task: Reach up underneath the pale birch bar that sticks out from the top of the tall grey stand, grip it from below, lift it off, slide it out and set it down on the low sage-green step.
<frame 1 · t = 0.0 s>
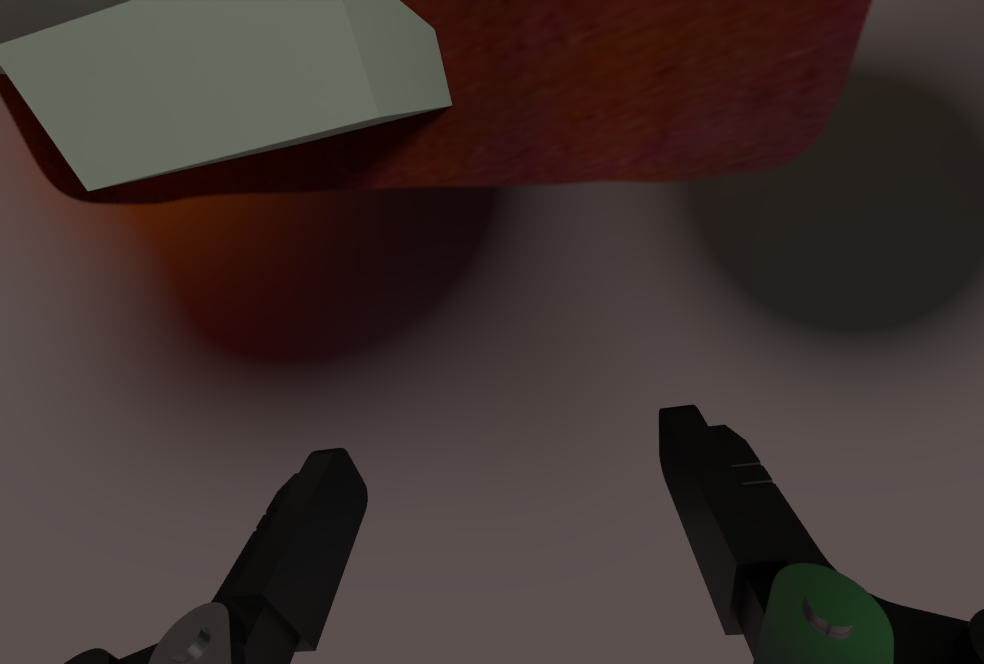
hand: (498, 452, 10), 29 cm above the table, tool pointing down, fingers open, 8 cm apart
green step: (365, 89, 32), on the table
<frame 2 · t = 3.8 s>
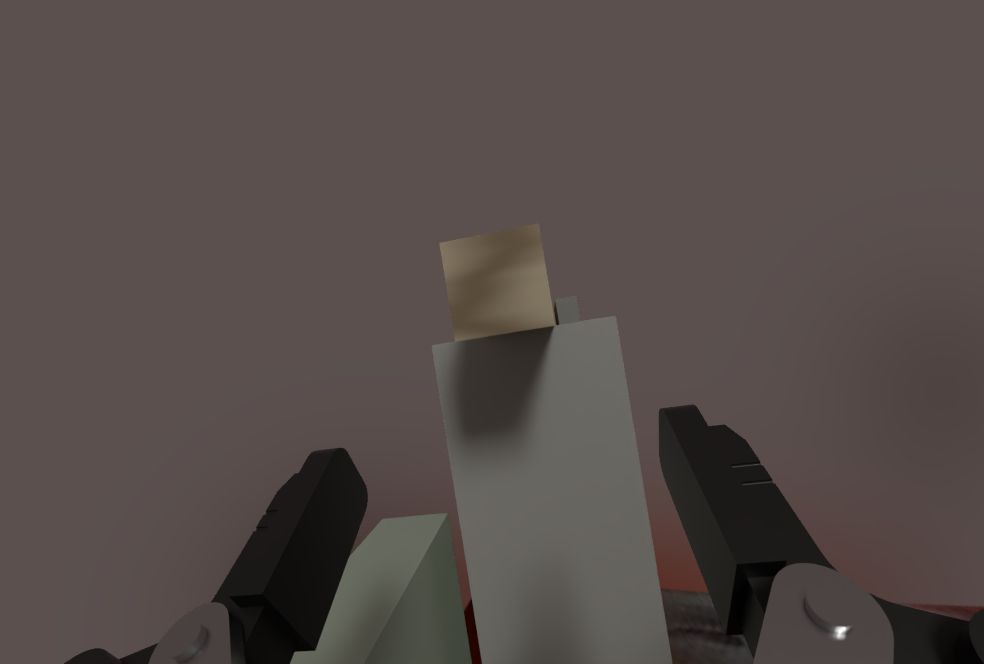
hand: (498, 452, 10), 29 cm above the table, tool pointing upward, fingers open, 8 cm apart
birch bar: (524, 330, 27), point 32 cm above the table, touching grey stand
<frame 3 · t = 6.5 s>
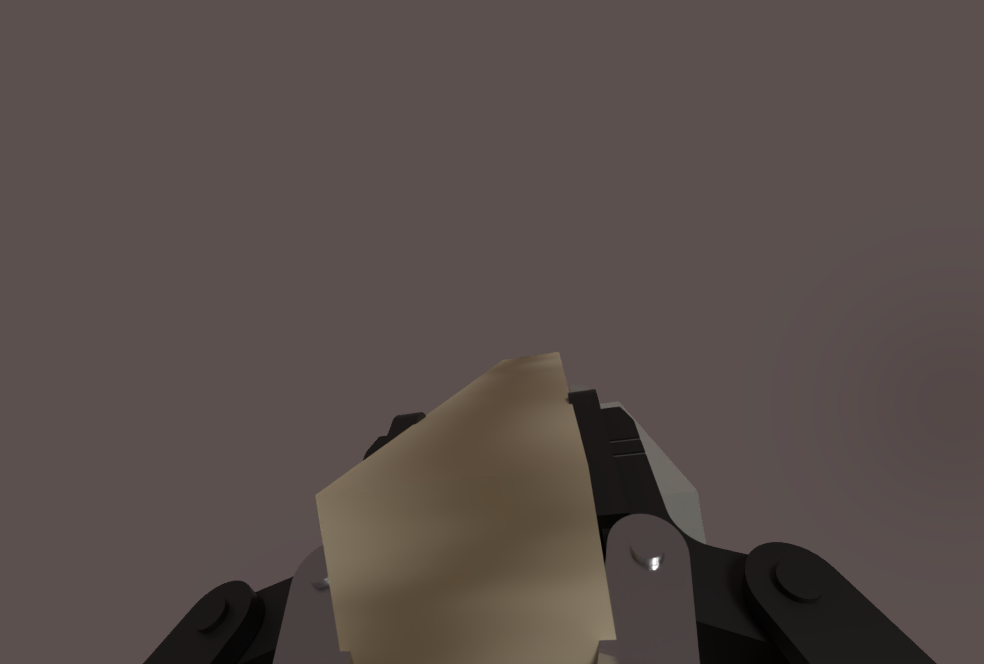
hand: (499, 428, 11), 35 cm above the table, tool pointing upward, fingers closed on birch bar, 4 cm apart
birch bar: (531, 469, 17), point 32 cm above the table, touching grey stand, gripper
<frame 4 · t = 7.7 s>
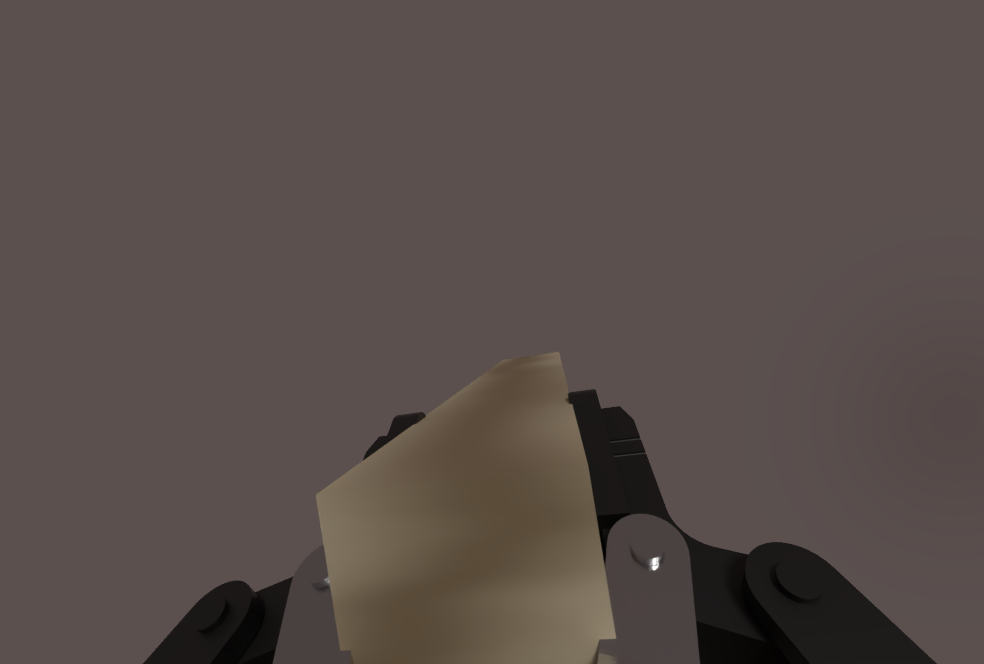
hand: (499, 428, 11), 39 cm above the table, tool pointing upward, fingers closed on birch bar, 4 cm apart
birch bar: (531, 469, 17), point 36 cm above the table, touching gripper
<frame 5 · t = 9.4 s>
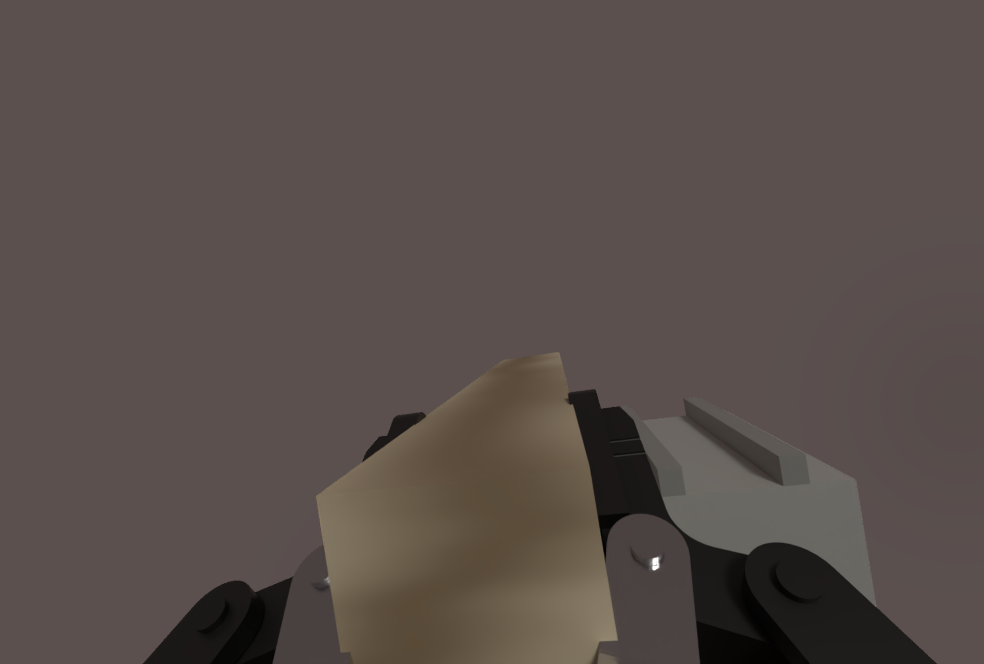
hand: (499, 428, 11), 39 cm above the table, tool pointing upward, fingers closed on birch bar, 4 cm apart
birch bar: (531, 470, 17), point 36 cm above the table, touching gripper
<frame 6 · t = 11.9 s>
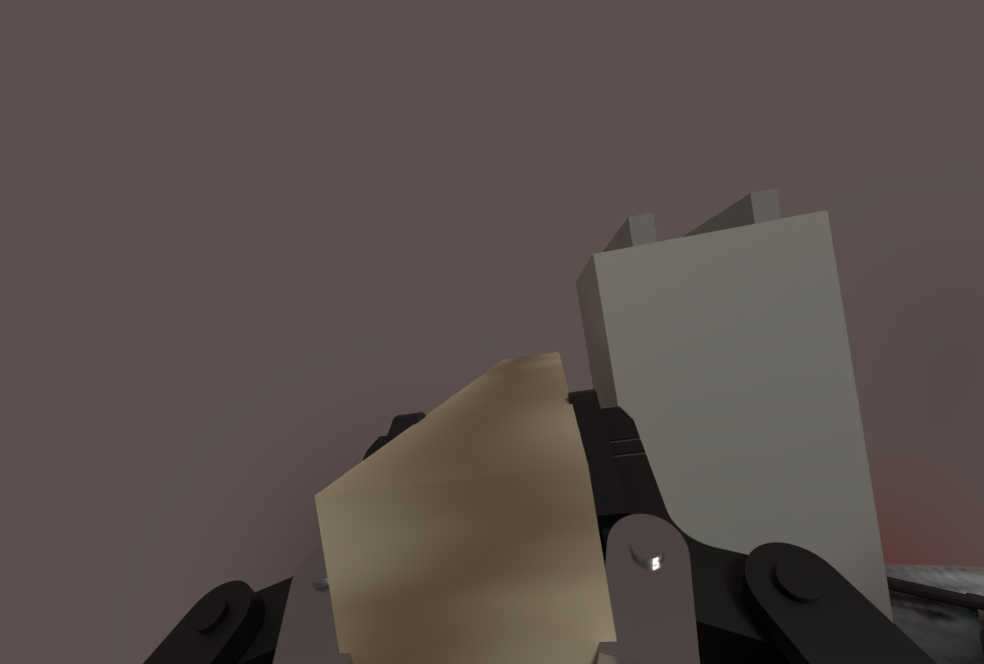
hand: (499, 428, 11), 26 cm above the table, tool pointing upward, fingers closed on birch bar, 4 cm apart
birch bar: (531, 469, 17), point 23 cm above the table, touching gripper
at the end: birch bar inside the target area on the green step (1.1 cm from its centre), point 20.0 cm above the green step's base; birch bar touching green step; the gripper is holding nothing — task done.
